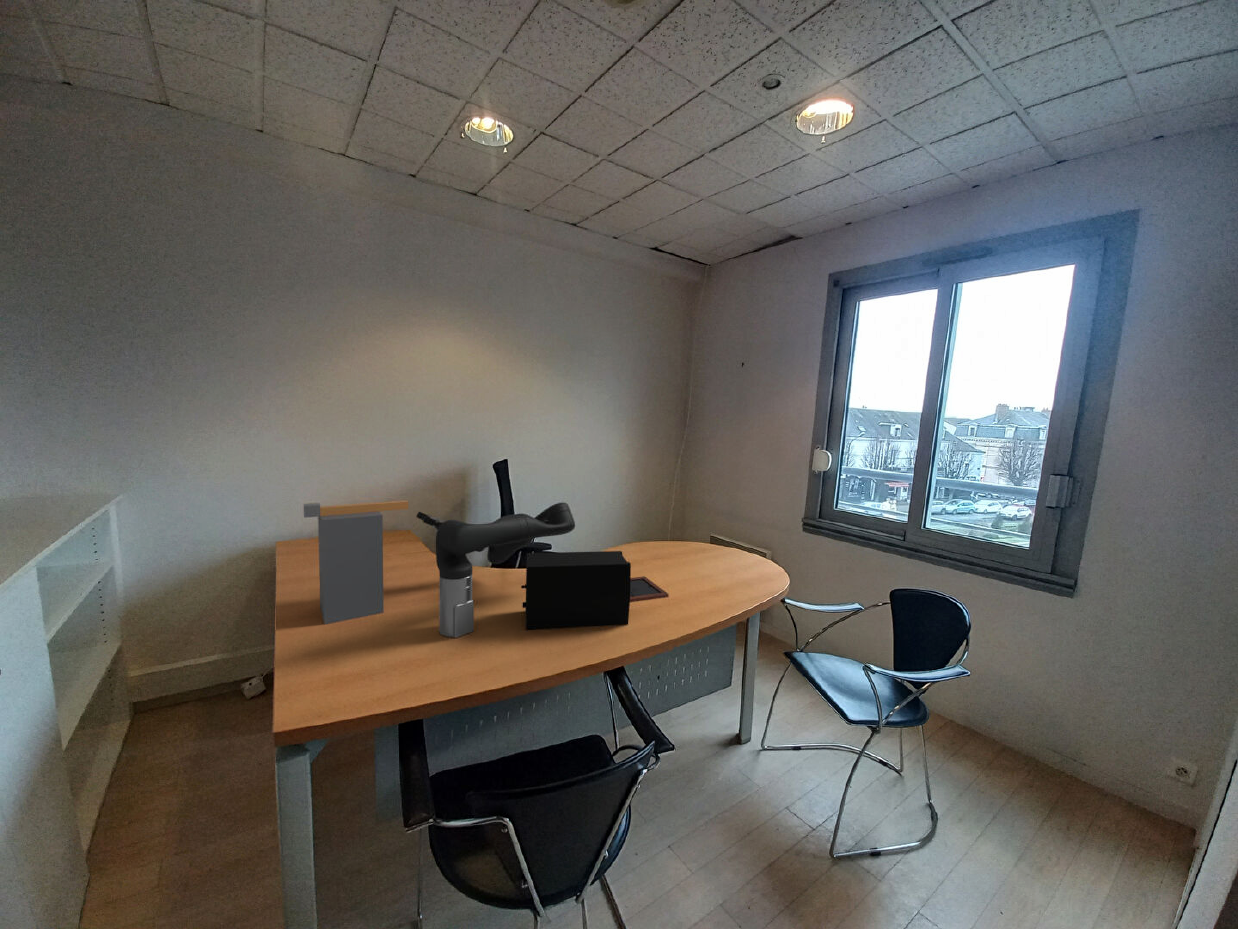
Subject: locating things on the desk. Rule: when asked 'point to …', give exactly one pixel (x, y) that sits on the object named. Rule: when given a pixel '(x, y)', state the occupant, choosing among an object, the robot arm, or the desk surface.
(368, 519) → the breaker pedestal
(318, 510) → the lever bar
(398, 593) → the desk surface
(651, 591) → the picture frame
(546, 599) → the uninterruptible power supply
